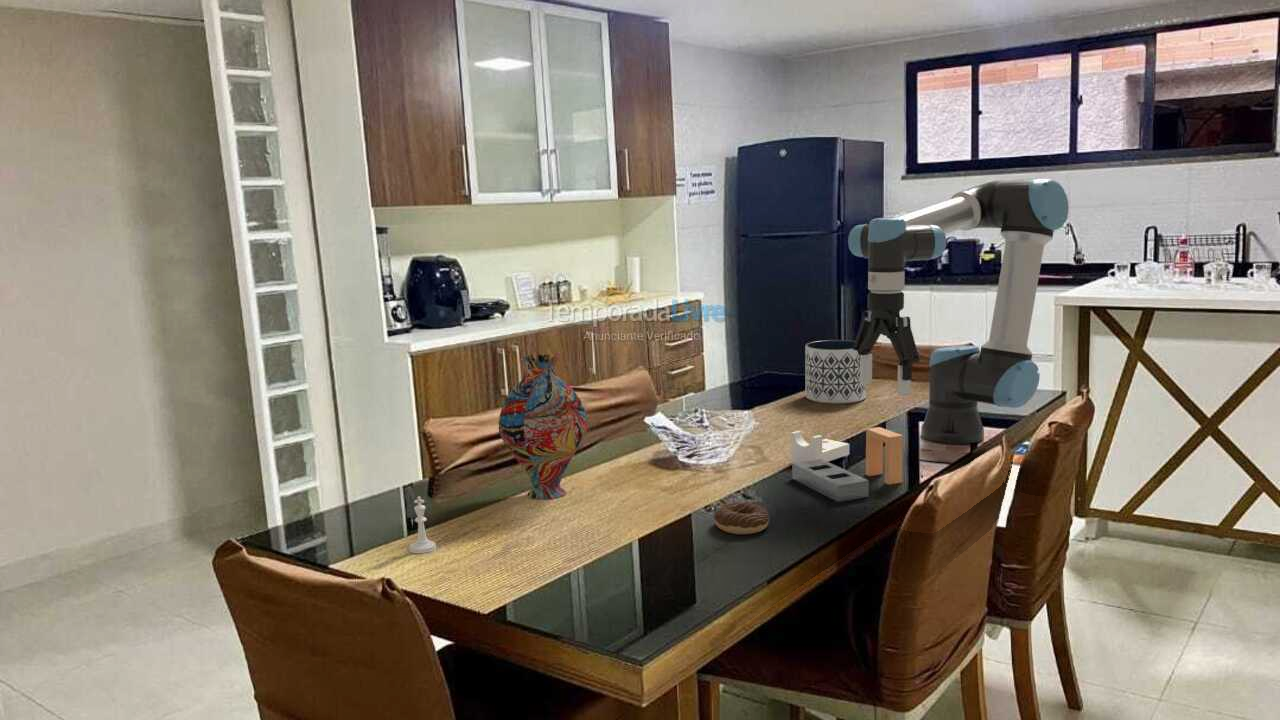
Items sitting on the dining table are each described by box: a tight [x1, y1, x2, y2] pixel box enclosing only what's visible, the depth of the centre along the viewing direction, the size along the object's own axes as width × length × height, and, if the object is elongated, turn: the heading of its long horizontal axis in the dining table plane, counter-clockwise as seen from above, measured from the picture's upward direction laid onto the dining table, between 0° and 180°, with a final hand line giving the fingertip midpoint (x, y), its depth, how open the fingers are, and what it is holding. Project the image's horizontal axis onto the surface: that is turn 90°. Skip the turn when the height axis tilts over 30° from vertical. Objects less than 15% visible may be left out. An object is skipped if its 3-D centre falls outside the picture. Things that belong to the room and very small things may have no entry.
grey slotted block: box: [791, 459, 870, 503], centre depth 205 cm, size 8×18×4 cm, turn 22°
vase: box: [498, 353, 588, 501], centre depth 204 cm, size 19×19×30 cm
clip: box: [865, 426, 904, 485], centre depth 209 cm, size 4×8×10 cm, turn 22°
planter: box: [804, 339, 867, 405], centre depth 290 cm, size 18×18×16 cm
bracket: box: [790, 430, 850, 464], centre depth 225 cm, size 13×7×8 cm, turn 132°
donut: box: [713, 501, 771, 535], centre depth 183 cm, size 11×11×4 cm
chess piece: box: [408, 496, 437, 554], centre depth 176 cm, size 5×5×10 cm
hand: (884, 389), depth 207 cm, fingers open, 13 cm apart
